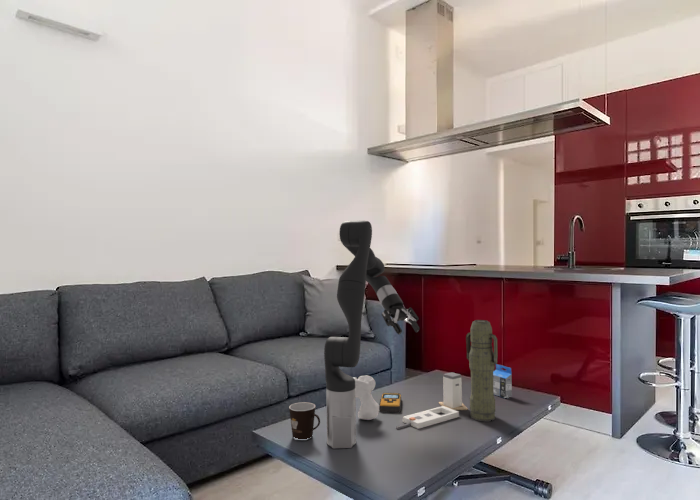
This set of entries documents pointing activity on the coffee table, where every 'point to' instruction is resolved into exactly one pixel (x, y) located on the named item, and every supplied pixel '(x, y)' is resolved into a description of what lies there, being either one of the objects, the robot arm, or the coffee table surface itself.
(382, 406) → the electronic device
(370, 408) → the white irregular upright piece
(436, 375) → the coffee table surface
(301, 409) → the coffee mug
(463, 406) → the cork coaster
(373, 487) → the coffee table surface
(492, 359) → the thermos
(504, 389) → the label tape box
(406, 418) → the power strip
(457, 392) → the block
